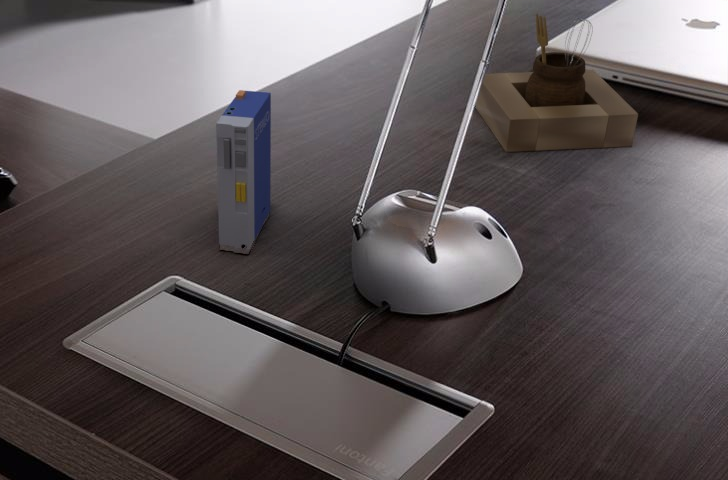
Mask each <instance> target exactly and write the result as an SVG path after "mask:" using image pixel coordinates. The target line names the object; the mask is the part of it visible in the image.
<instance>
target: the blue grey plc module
mask: <svg viewBox="0 0 728 480" xmlns="http://www.w3.org/2000/svg"><path fill="white" fill-rule="evenodd" d="M271 94H272V92H267V91H265V92H264V91H254V90H242V89H239V90H238V91H237V93H236V94H235V96H234V98H233V100H232V101H231V102H230V103H229V105H228V106H227V107H226V109H225V110H224V111H223V113H222V115H221V116H220V117H219V119H218V120H217V121H216V123H215V132H216V135H215V138H216V141H215V142H216V167H217V168H216V172H217V174H216V175H217V178H216V179H217V212H218V213H217V214H218V216H217V217H218V245H219V244H222V245H229V246H234V247H235V248H241V249H243V248H244V247H245V245H246V250H249V249H250V247H251V245H252V243H253V241H254V240H255V238H256V236H257V234H258V233H259V231H260V229H261V227H262V225H263V223H264V221H265V219H266V218H267V216H268V214H269V212H270V213H271V172H272V171H271V166H272V165H271V162H272V161H271V160H272V158H271V153H272V152H271V149H272V148H271V145H272V143H271V141H272V139H271V136H272V135H271V134H272V133H271V132H272V129H271V128H272V126H271V125H272V121H271V120H272V119H271V118H272V115H271V114H272V95H271Z"/></svg>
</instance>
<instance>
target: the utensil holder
mask: <svg viewBox="0 0 728 480" xmlns="http://www.w3.org/2000/svg"><path fill="white" fill-rule="evenodd" d="M581 21H582V22H581ZM579 22H581V23H582V24H581V27H580V29H579V32H578V35H577V38H576V41H575V45H574V49H573V51H572V53H570V47H569V45H571V44H570V43H571V41H572V40H571V39H572V36H573V33H574V30H575V28H576V25H577V24H578V23H579ZM585 22H586V23H587V26H588V28H587V29H588V30H587V34H586V38H585V42H584V44H583V47H582V50H581V51H580V53H579V55H577V54H575V53H576V50H577V47H578V45H579V41H580V38H581V35H582V32H583V28H584V27H585ZM573 24H574V25H573ZM572 25H573V27H572ZM535 28H536V41H537V44H538V45H539V46H540V49H541V50H540V51H541V53H540V54H538V55H536V57H535V58H534V60H533V63H532V72H533V73H532V74H531V76H530V77H529V80H528V83H527V88H526V94H525V101H526V102H527V103H528V104H529V106H530V107H549V106H572V105H583V101H584V95H585V80H584V78H583V75H584V73H585V70H586V61H585V59H584V58H583V56H584V54H585V53H586V51H587V50H588V48H589V45H590V42H591V40H592V36H593V32H594V31H593V24H592V23H591V22H590V21H589V19H586V18H578V19H576V20H573V22H572V23H571V25H570V27H569V29H568V32H567V35H566V38H565V42H564V46H566V48H567V52H561V51H560V52H559V51H553V52H552V51H551V52H550V51H549V52H546V47H548V46H549V36H548V27H547V18H546V17H545V16H542V14H540V15H539V13H535ZM571 28H572V29H571ZM590 29H591V30H590ZM569 32H570V35H569ZM590 32H591V33H590ZM568 35H569V38H568ZM589 36H590V39H589ZM588 39H589V41H588ZM567 40H568V42H567ZM587 42H588V45H587ZM566 43H567V45H566ZM586 45H587V46H586ZM585 47H586V49H585ZM584 49H585V51H584ZM583 51H584V52H583ZM582 53H583V54H582ZM581 54H582V55H581Z"/></svg>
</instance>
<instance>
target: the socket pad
mask: <svg viewBox="0 0 728 480" xmlns="http://www.w3.org/2000/svg"><path fill="white" fill-rule="evenodd" d="M533 72H534V71H523V72H504V73H503V72H498V73H496V72H495V73H493V72H492V73H484V74H485V77H484V80H483V83H482V86H481V89H480V93H479V96H478V99H477V103H476V107H474V108H475V111H477V113H478V114H479V115H480V117H481V118H482V120H483V121H484V123H485V124H486V126H487V127H488V129H489V130H490V131H491V133H492V134H493V136H494V137H495V138H496V141H498V143H499V144H500V146H501V147H502V148H503V150H504V151H505V153H515V152H516V153H517V152H536V151H559V150H581V149H583V150H585V149H602V148H629V147H632V146H633V142H634V137H635V133H636V127H637V123H638V117H639V113H638V112H637V111H636V110H635V109H634V108H633V107H632V106H631V105H630V104H629V103H628V102H626V100H625V99H624V98H623V97H622V96H621V95H620V94H618V93H617V91H615V89H614V88H612V86H610V85H609V83H607V82H606V81H605V79H603V78H602V77H601V76H600V75H599V74H598V73H597V72H596V71H595V70H594V69H593V68H592V69H585V73H584V75H583V78H584V80H585V95H584V101H583V105H572V106H549V107H530V106H529V104H528V103H527V102H526V101H525V94H526V88H527V83H528V80H529V77H530V76H531V74H532V73H533Z"/></svg>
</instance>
